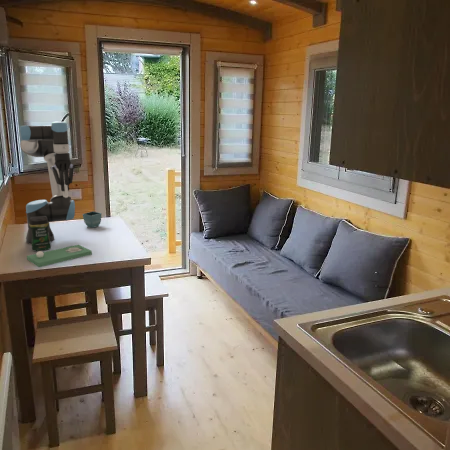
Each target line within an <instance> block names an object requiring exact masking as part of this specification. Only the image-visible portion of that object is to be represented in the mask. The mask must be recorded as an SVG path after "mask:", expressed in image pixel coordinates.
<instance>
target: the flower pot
mask: <svg viewBox="0 0 450 450" xmlns="http://www.w3.org/2000/svg"><path fill="white" fill-rule="evenodd" d="M82 218H83V222H84V224H85V225H86V226H87V228H92V229H93V228H96V227H97V228H98V227H99V226H100V224H101V222H102V212H98V211H89V212H86V213H82Z"/></svg>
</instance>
